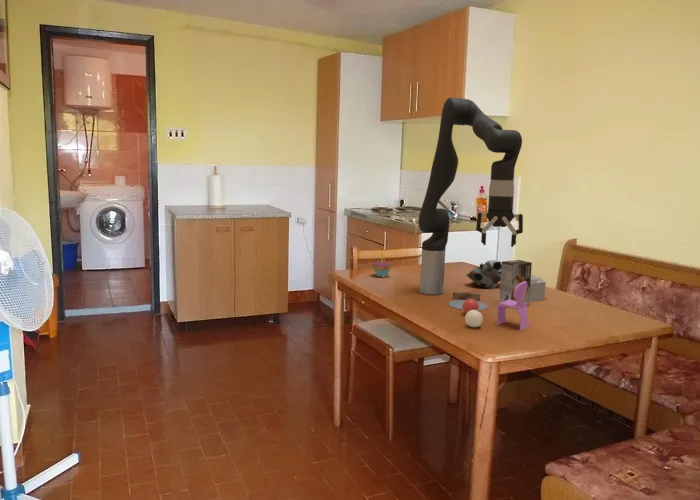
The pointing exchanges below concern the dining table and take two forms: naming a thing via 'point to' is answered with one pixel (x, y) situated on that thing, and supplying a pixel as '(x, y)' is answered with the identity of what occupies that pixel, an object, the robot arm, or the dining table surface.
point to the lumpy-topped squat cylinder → (537, 288)
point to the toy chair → (515, 306)
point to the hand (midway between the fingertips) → (498, 245)
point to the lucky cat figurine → (486, 274)
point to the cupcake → (381, 267)
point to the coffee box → (514, 279)
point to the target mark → (459, 304)
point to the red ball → (470, 305)
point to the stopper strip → (466, 295)
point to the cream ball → (473, 318)
